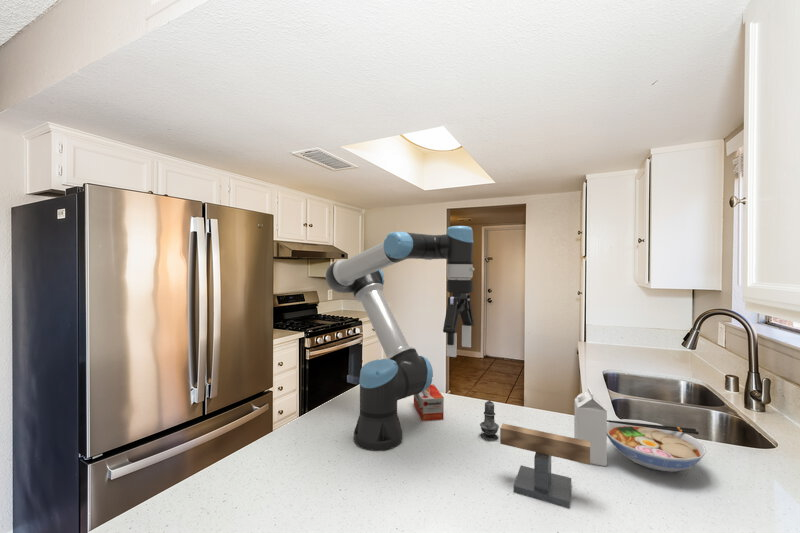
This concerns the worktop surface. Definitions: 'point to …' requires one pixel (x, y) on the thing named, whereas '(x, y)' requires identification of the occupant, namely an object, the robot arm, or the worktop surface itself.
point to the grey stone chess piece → (489, 423)
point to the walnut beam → (546, 443)
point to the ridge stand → (543, 482)
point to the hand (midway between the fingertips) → (459, 351)
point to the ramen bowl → (656, 444)
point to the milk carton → (591, 425)
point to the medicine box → (429, 404)
